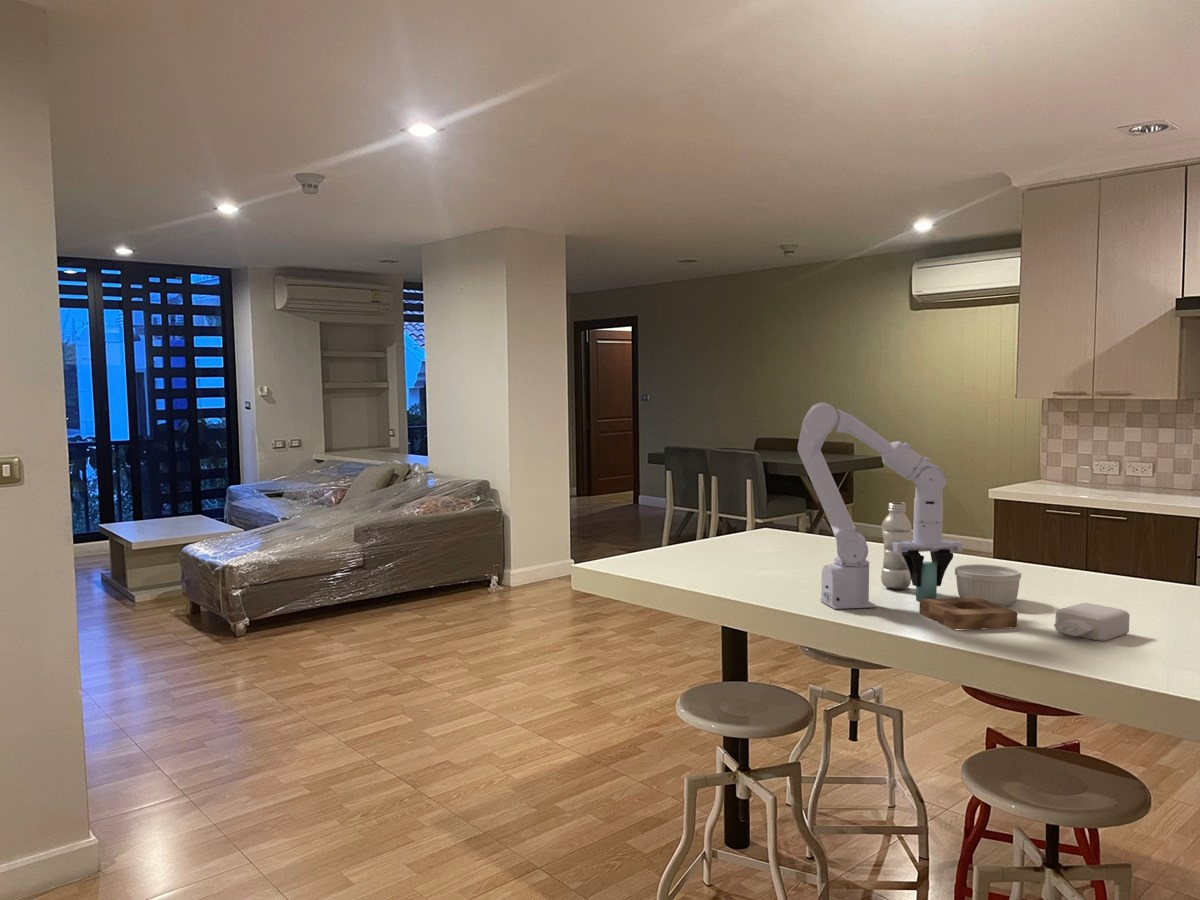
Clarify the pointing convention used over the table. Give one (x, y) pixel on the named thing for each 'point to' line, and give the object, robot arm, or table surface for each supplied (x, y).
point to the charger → (1092, 621)
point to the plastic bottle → (893, 531)
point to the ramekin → (988, 582)
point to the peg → (927, 582)
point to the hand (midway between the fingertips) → (926, 585)
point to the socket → (968, 613)
